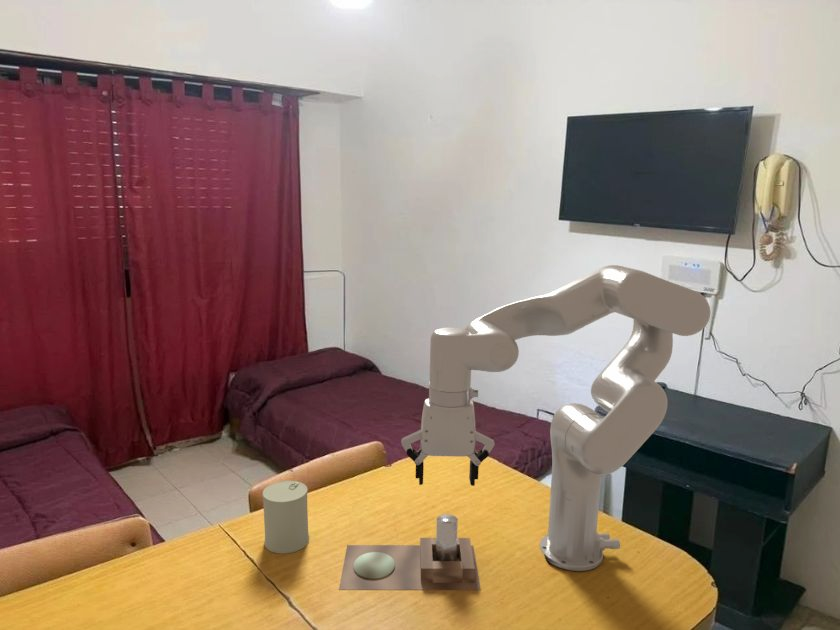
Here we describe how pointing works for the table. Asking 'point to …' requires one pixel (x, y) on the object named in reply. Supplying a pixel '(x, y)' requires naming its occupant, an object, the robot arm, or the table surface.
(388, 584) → the pocket board
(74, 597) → the table surface
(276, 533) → the can
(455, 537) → the peg
